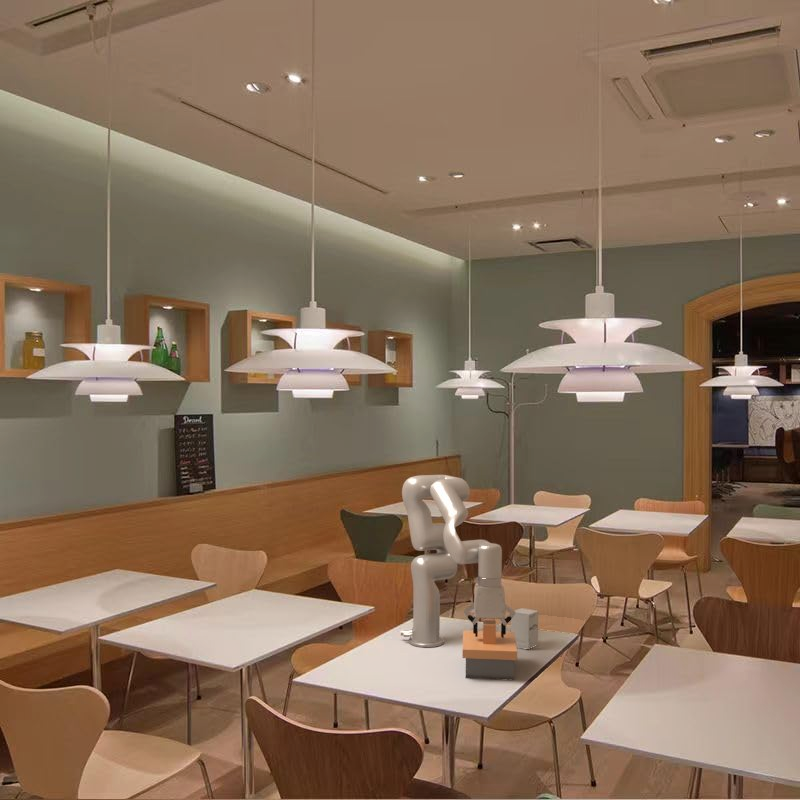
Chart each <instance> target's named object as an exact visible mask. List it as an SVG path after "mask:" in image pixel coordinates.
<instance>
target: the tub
mask: <svg viewBox="0 0 800 800" xmlns="http://www.w3.org/2000/svg"><path fill="white" fill-rule="evenodd" d="M514 675H515V660H499V659H472V658H465V679H480V680H484V679H485V680H502V679H507V680H508V681H510V680H509V679H512V680H511V681H514V680H515V678H514V677H515V676H514ZM513 679H514V680H513ZM507 680H506V681H507Z"/></svg>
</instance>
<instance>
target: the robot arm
mask: <svg viewBox="0 0 800 800" xmlns="http://www.w3.org/2000/svg"><path fill="white" fill-rule="evenodd" d="M470 493H471V489H470V486H469V484H468V482H467V481H466V480H464V479H463V478H461V477H457V476H452V475H448V474H427V475H426V474H422V475H421V474H420V475H414V476H411V477H409V478H407V479H406V480H405V481H404V483H403V484H402V489H401V496H402V501H403V505H404V507H405V510H406V513H407V518H408V520H407V521H408V527H409V535H410V542H411V545H412V547H413V549H415V550H416V551H419V552H420V551H425V552H426V551H434V550H435V551H436V552H435V553H426V554H420V555H418V556H415V558H413V560H411V564H410V573H411V578H412V579H411V580H412V585H413V586H412V587H413V589H412V590H413V592H412V593H413V594H412V597H413V601H412V603H413V604H412V605H413V612H412V613H413V614H412V615H413V616H412V617H413V618H412V619H413V620H412V622H413V624H412V629H409V630H407V629H401V630H400V636H403V637H404V638H408V644H410V645H412V646H414V647H420V648H434V647H435V648H436V647H440V646H442V645H443V644H444V642H445V641H444V638H443V637H442V636H440V625H441V624H440V623H441V622H440V621H441V619H440V616H441V611H440V610H441V607H440V606H441V603H440V602H441V601H440V600H441V597H440V596H441V595H440V590H439V588H438V586H437V585H436V583H435V581H439V580H440V581H441V580H448V579H451V578H454V576H455V575H456V573H457V571H458V565H468V564H470V565H471V564H478V569H477V571H478V575H477V577H474V578H473V583H476V584H477V585H476V586H475V590H474V598H473V603H472V604H471V605H470V606H468V607H467V608H464V610H463V613H464V614H465V616H466V617H467V619H468V620H469V621H470V622H471V623H472V625H473V627H472V631H473V633H474V634H475V637H478V631H479V630H478V625H479V623H478V621H479V620H480V619H495V620H500V621H501V624H500V625H501V626H500V632H501V637H502V638H504V635H506V632H507V631H506V630H507V629H506V628H507V625H508V623H510V622H511V619H512V618H513V616H514V615H515V610H514V609H512V608H511V607H509V605H507V604H506V593H505V587H504V586H503V585H502V578H503V577H502V575H503V574H502V573H503V571H502V569H503V567H502V566H503V565H502V564H503V563H502V562H503V561H502V559H503V558H502V557H503V556H502V555H503V554H502V553H503V552H502V551H503V550H502V546H501V545H500V544H498V543H495V542H494V543H493V542H492V543H491V542H490V541H488V540H487V539H471V540H470V539H469V540H461V539H460V537H459V535H458V533H457V531H456V527H458V526H459V525H461V524H462V523H464V522H465V520H466V519H467V518H468V515H469V511H468V509H467V508H466V506H465V504H464V503H463V502H466V501H467V500H468V499H469V498H470ZM424 499H425V500H426V499H433V501H434V503H435V505H436V507H437V509H438V511H439V513H440V515H441V516H442V518H443V520H444V522H445V523H443V522H434V523H433V520H432V512H431V509H430V508H429V506H428V505H427V503H425V501H424ZM471 611H473V615H474V616H473V615H472V614H471V613H470V612H471ZM506 612H507V613H509V615H507V616H506Z"/></svg>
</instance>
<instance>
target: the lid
mask: <svg viewBox="0 0 800 800" xmlns="http://www.w3.org/2000/svg"><path fill="white" fill-rule="evenodd" d="M496 623H497V622H496V619H487V618H482V630H478V637H475V634H474V633H473V630H463V631H462V632H463V633H462V635H463V637H462V659H466V658H472V659H499V660H514V661H517V660H518V648H517V646H516V641H515V635H514V632H511V631H506V635H504V638H502V637H501V631H497V624H496Z"/></svg>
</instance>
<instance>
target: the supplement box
mask: <svg viewBox="0 0 800 800" xmlns="http://www.w3.org/2000/svg"><path fill="white" fill-rule="evenodd" d="M514 611H515V615H514V616H513V618H512V619H511V620H510V632H514V635H515V641H516V646H517V647H519V648H518V649H520V648H526V649H529V650H531V649H532V648H531V647H533V646H535V645H537V644H538V645H539V610H536V609H535V610H534V609H529V608H523V607H520V608H518V609H515V610H514ZM535 647H536V646H535ZM530 648H531V649H530ZM533 648H534V647H533Z"/></svg>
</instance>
